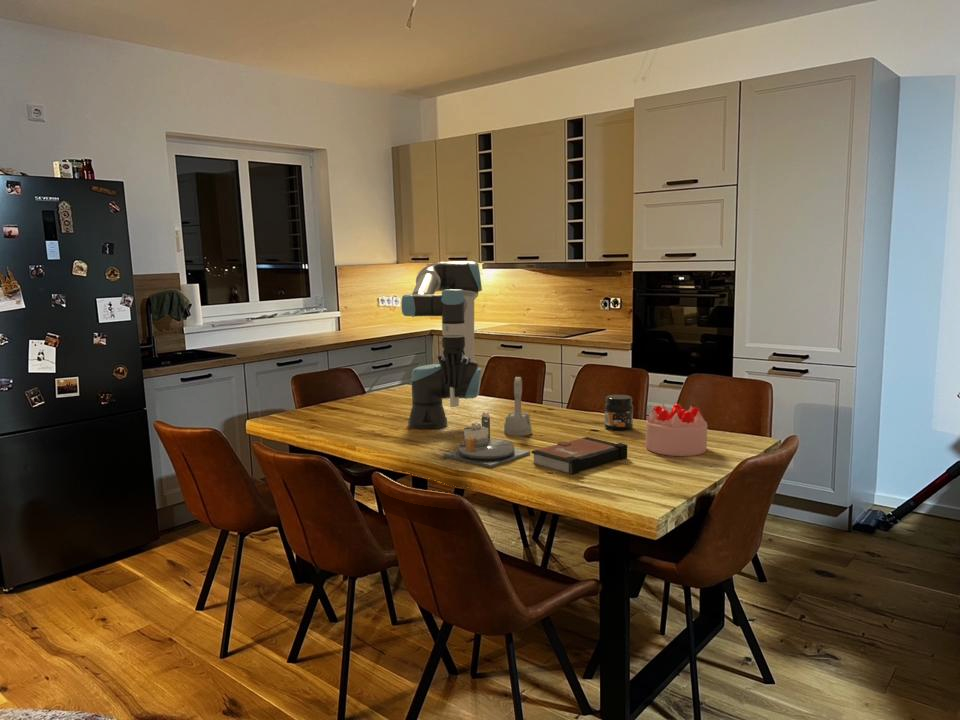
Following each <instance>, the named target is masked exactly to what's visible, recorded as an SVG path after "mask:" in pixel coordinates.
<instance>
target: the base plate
mask: <svg viewBox="0 0 960 720" xmlns="http://www.w3.org/2000/svg"><path fill="white" fill-rule="evenodd" d="M530 454H531V451H530V450H525V449H520V448H516V447H514V454H513V455H511V456H508V457H505V458H499V459H473V458H468V457H464V456H462V455H461V454H460V453H459V448H458V449H455V450H452V451H449V452H446V453H443V458H445V459H450V460H453V461H454V460H455V461H457V462H464V463H468V464H472V465H477V466H480V465H481V467H484V466H485V467H484V468H488V467H489V469H491V468H492V469H493V468H494V467H498V466H500V464H501V465H503V464H507V463H509V462H512V461H514V460H515V461H516V460H518V459H521V458H525V457H527V456H529V455H530ZM506 462H507V463H506Z"/></svg>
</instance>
